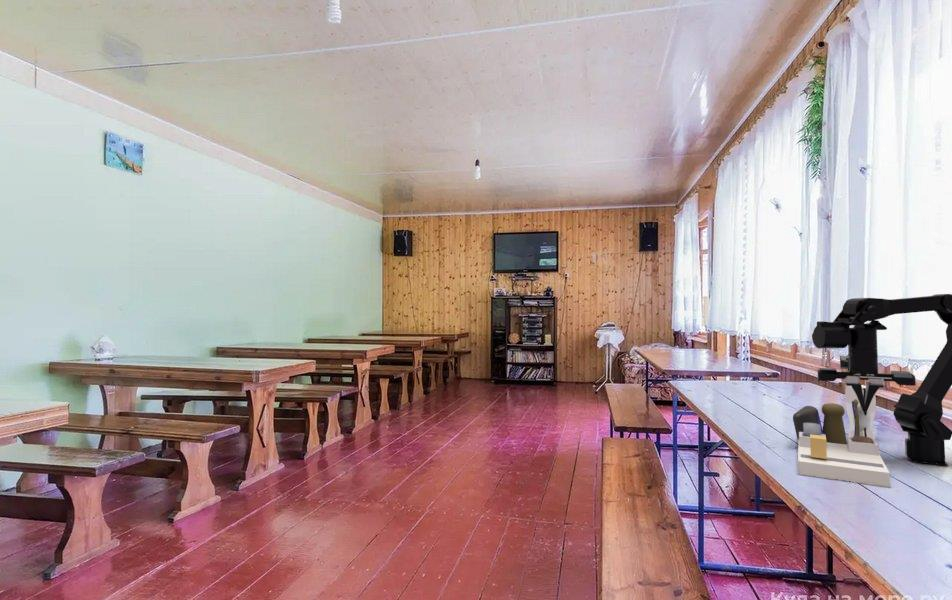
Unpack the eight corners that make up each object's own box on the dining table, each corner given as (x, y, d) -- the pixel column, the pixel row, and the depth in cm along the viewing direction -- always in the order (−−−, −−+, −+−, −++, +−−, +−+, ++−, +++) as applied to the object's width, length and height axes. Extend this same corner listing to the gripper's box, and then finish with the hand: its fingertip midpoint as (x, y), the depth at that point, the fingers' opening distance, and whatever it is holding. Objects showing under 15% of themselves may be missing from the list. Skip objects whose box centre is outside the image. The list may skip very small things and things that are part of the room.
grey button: (820, 435, 124) (820, 423, 124) (821, 438, 121) (820, 426, 121) (803, 433, 126) (803, 422, 126) (803, 436, 123) (803, 424, 123)
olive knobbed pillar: (840, 447, 132) (839, 406, 132) (816, 442, 137) (815, 403, 137) (852, 444, 134) (850, 404, 135) (828, 439, 140) (826, 401, 140)
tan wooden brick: (826, 454, 114) (825, 435, 114) (826, 458, 111) (826, 439, 111) (810, 453, 115) (809, 434, 115) (810, 456, 112) (810, 437, 112)
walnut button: (871, 449, 118) (870, 437, 119) (873, 453, 115) (872, 440, 116) (852, 447, 120) (852, 435, 121) (854, 451, 117) (853, 438, 118)
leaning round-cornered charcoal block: (819, 450, 127) (810, 413, 128) (798, 449, 130) (790, 414, 131) (830, 437, 139) (822, 404, 140) (811, 437, 142) (803, 405, 143)
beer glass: (879, 443, 135) (877, 388, 136) (847, 439, 139) (846, 387, 139) (875, 437, 141) (873, 385, 142) (845, 434, 145) (843, 383, 145)
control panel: (876, 460, 120) (875, 437, 121) (890, 487, 102) (889, 461, 102) (798, 450, 129) (798, 429, 129) (798, 474, 111) (797, 450, 111)
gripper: (906, 347, 123) (908, 409, 122) (816, 345, 133) (817, 402, 133) (914, 350, 114) (917, 417, 113) (817, 348, 124) (819, 409, 124)
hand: (864, 411), depth 121 cm, fingers closed
